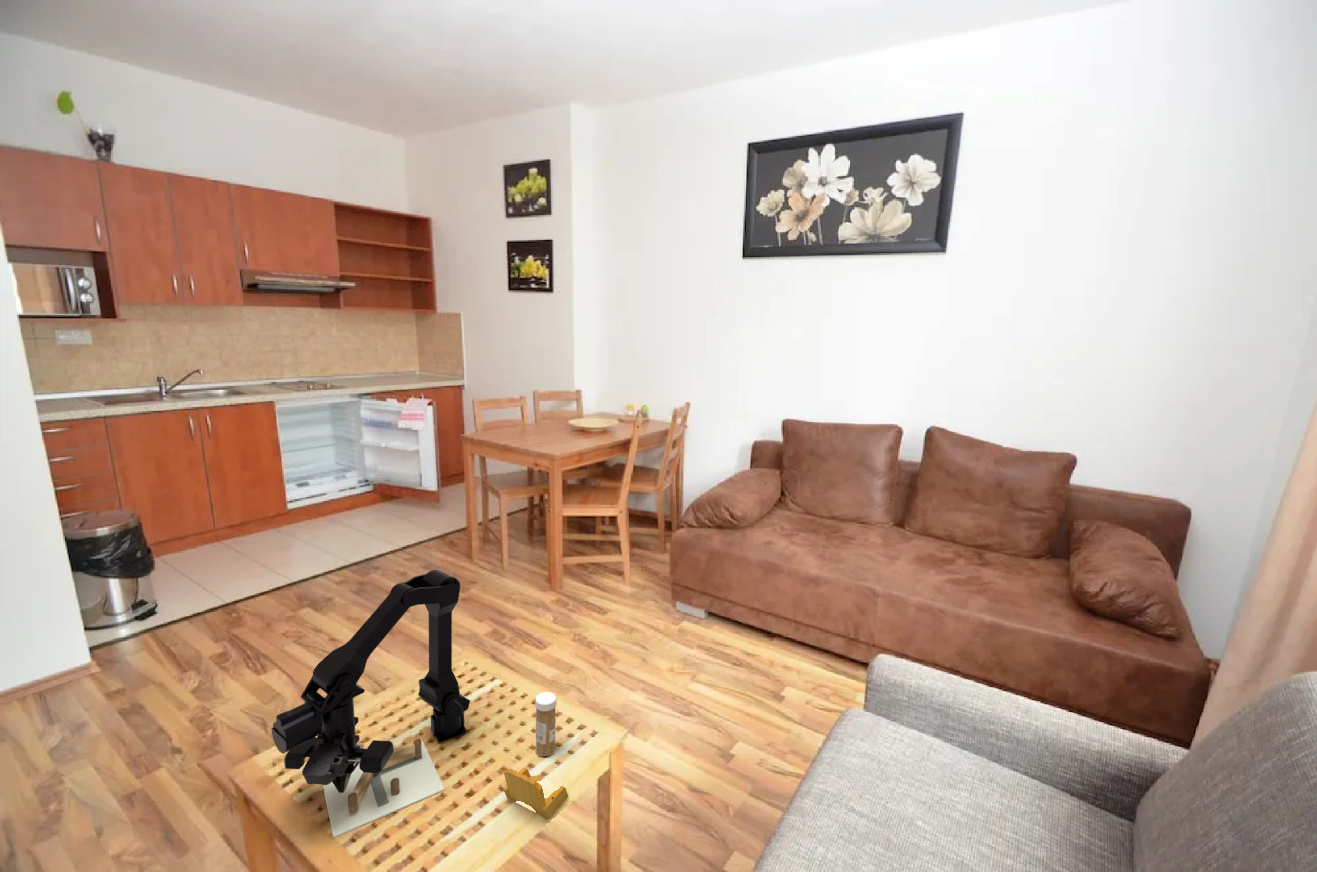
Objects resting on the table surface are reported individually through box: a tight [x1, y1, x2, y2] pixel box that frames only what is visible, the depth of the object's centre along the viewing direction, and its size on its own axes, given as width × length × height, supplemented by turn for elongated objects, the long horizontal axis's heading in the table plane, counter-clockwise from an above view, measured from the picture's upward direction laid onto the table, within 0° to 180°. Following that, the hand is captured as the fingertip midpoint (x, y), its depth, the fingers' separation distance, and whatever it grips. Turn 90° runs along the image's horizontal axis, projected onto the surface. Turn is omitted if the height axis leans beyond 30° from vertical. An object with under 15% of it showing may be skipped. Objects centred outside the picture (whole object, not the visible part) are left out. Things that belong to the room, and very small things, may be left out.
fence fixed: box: [372, 738, 422, 796], centre depth 119 cm, size 11×9×4 cm
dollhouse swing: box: [503, 767, 569, 820], centre depth 115 cm, size 10×10×9 cm
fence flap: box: [348, 772, 373, 814], centre depth 113 cm, size 9×2×3 cm, turn 5°
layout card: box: [322, 739, 445, 839], centre depth 117 cm, size 20×17×1 cm
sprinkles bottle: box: [535, 691, 557, 757], centre depth 128 cm, size 5×5×14 cm
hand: (342, 791), depth 114 cm, fingers closed
